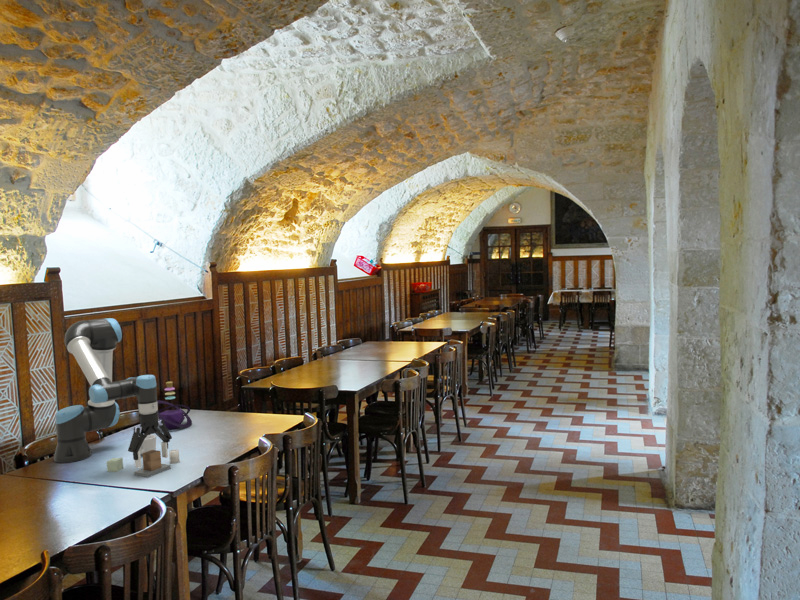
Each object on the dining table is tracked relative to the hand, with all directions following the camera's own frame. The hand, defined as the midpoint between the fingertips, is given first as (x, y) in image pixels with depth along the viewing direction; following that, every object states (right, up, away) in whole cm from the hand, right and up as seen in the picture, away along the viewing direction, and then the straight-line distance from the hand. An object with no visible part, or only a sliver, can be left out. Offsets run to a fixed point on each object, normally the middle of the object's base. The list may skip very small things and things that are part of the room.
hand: (152, 462), depth 260 cm
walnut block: (0, -3, 0) cm, 3 cm away
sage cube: (-18, -5, +6) cm, 19 cm away
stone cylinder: (+5, -3, +12) cm, 14 cm away
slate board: (0, -4, 0) cm, 4 cm away
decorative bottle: (-18, -1, +73) cm, 75 cm away
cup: (-13, -4, +25) cm, 29 cm away
